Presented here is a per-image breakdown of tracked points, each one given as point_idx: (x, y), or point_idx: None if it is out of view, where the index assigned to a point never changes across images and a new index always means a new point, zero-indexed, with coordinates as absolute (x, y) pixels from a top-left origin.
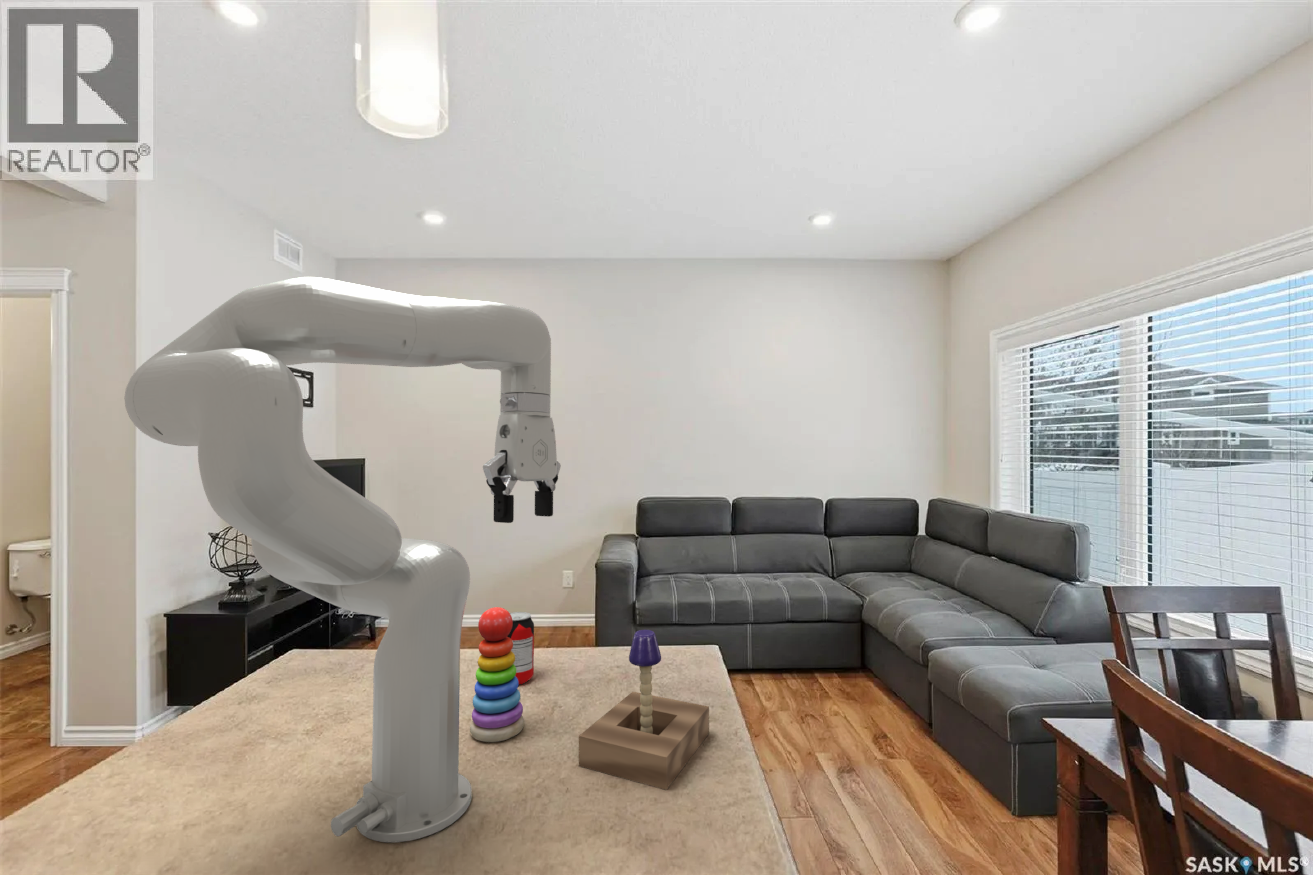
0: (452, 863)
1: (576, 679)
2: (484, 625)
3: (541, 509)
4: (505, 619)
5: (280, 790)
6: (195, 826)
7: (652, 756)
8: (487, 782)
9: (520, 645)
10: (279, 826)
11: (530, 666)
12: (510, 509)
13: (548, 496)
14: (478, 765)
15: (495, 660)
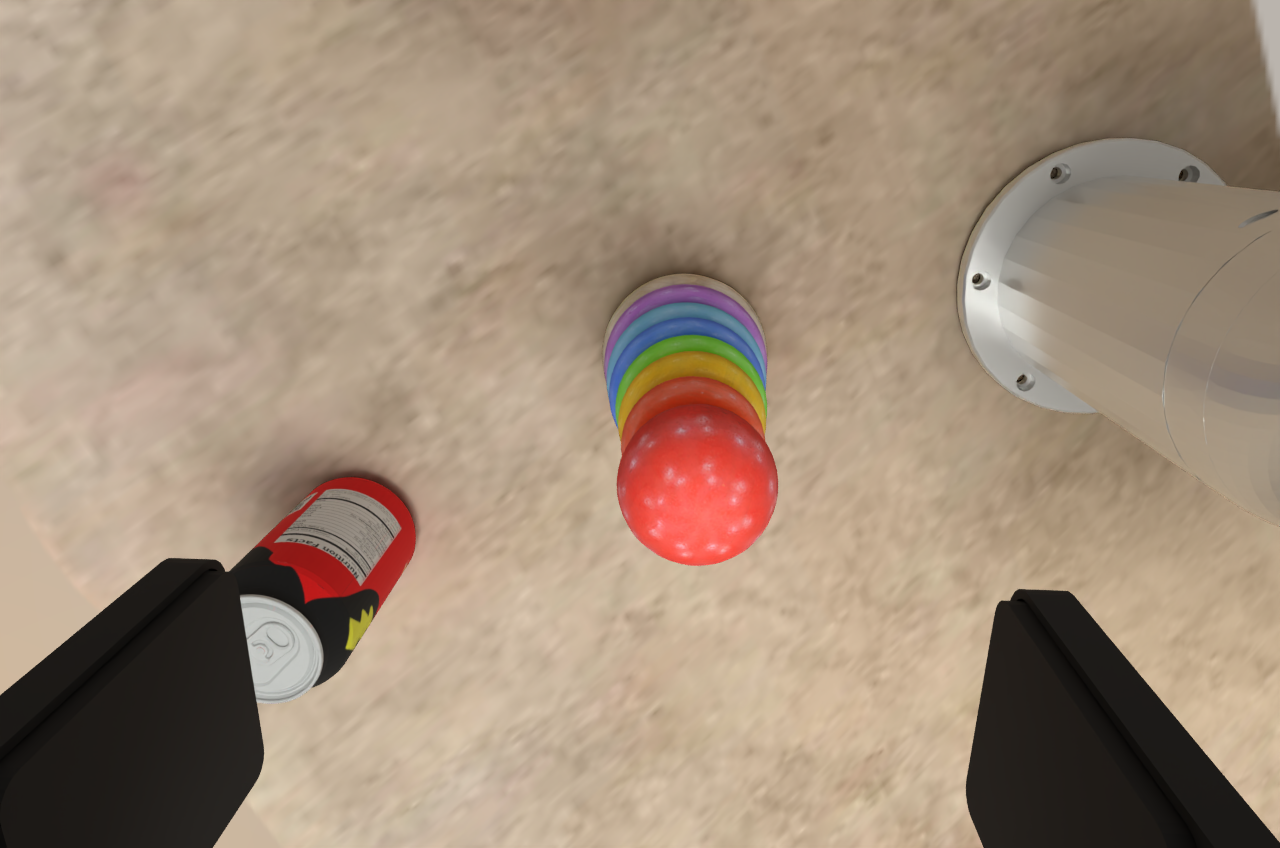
0: (1256, 31)
1: (244, 342)
2: (777, 492)
3: (210, 730)
4: (715, 428)
5: (1111, 623)
6: (1264, 656)
7: None
8: (932, 189)
9: (344, 547)
10: (1226, 507)
11: (335, 492)
12: (1144, 691)
13: (58, 764)
14: (866, 272)
15: (746, 394)
